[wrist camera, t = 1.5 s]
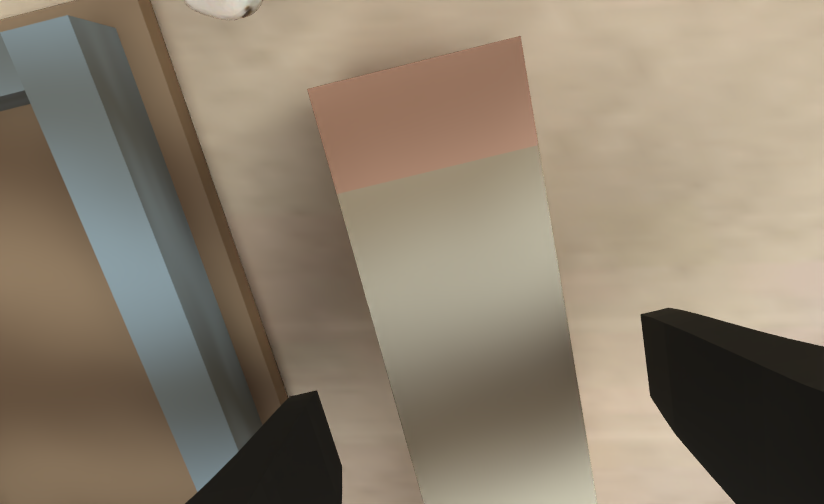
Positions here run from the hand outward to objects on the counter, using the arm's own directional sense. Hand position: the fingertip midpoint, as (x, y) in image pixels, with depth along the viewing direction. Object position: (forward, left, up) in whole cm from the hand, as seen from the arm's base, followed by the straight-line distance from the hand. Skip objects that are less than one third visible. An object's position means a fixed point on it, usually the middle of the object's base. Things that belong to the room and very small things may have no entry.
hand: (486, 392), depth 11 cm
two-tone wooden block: (0, 0, -5) cm, 5 cm away
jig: (0, +12, -5) cm, 13 cm away
